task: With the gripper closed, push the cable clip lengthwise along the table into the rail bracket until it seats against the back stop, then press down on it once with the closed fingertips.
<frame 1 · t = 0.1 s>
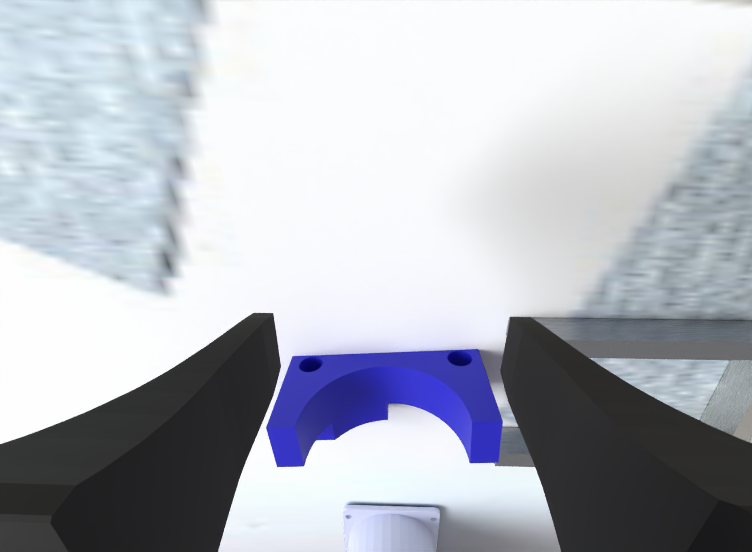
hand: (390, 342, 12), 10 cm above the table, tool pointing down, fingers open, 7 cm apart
rail bracket: (605, 385, 25), on the table
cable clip: (386, 376, 26), on the table
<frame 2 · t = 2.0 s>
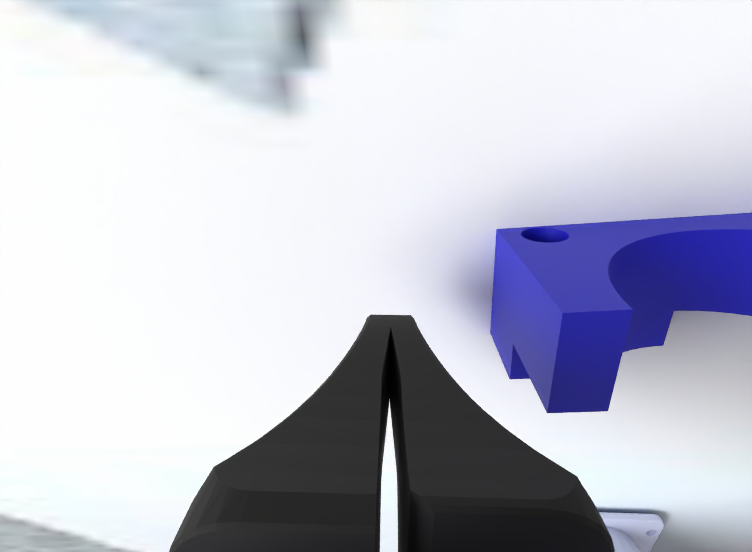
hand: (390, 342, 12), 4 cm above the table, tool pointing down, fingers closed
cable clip: (648, 271, 14), on the table
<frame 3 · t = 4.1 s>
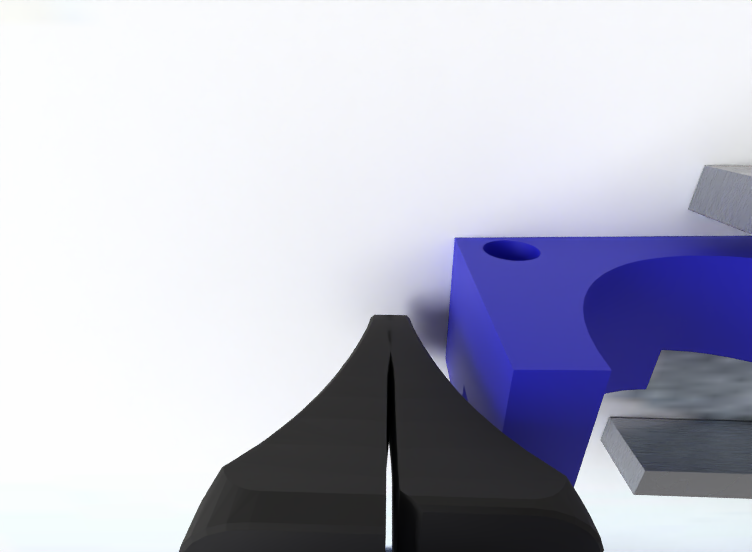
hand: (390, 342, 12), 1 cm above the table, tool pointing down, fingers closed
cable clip: (634, 299, 12), on the table, touching gripper
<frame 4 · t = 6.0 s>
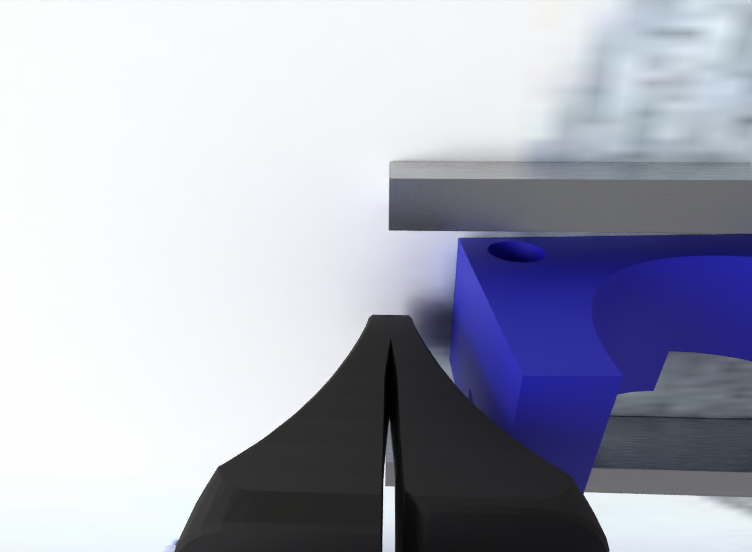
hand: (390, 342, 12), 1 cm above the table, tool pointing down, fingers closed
rail bracket: (604, 326, 12), on the table
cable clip: (640, 299, 12), resting in rail bracket, touching gripper
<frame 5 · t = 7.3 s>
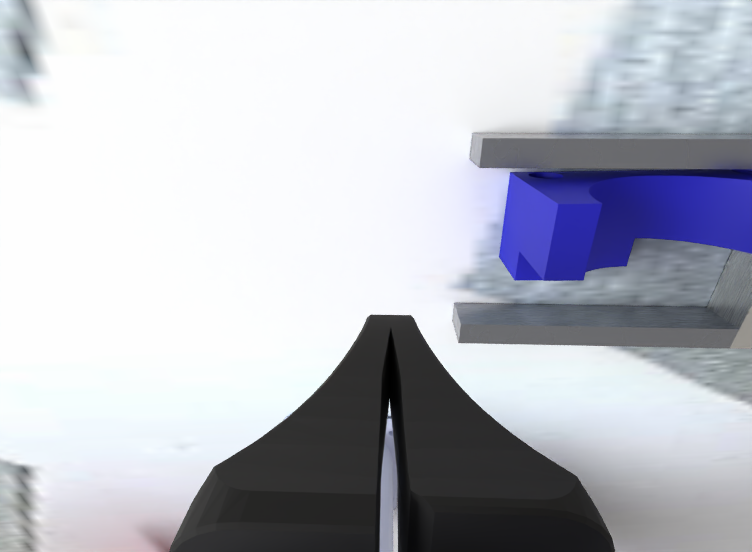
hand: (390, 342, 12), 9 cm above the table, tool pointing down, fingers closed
rail bracket: (597, 239, 20), on the table
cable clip: (619, 213, 19), resting in rail bracket
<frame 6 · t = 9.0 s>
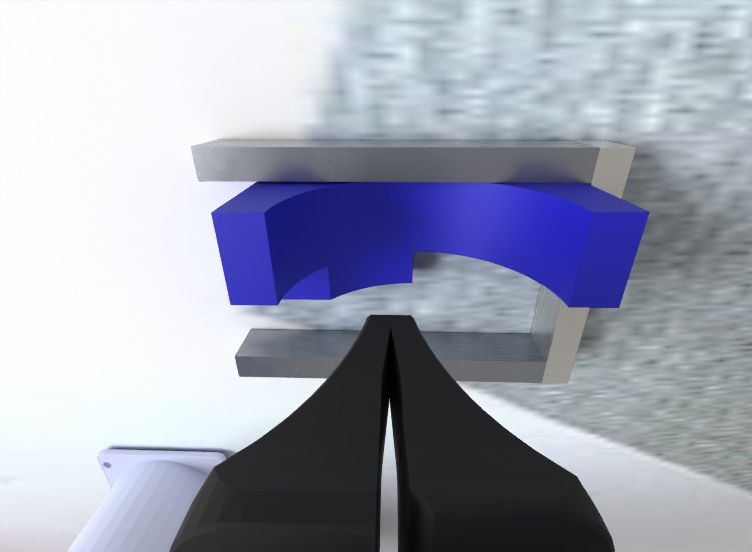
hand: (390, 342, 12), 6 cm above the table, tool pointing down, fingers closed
rail bracket: (390, 259, 17), on the table
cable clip: (411, 221, 17), resting in rail bracket
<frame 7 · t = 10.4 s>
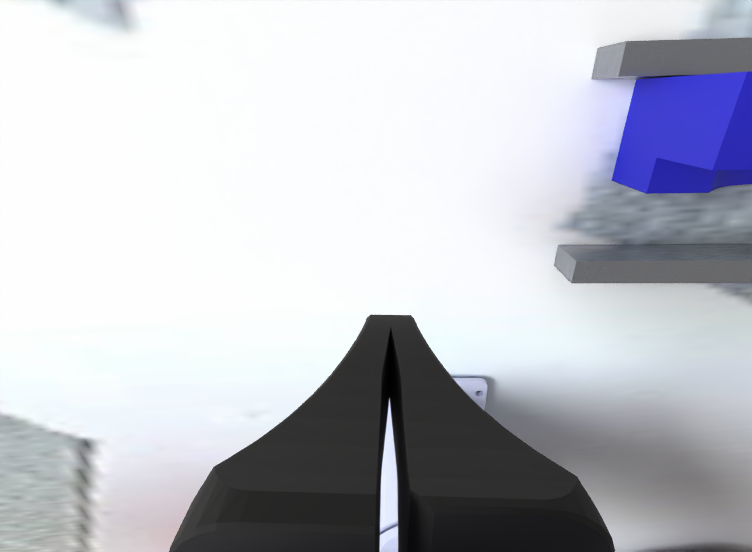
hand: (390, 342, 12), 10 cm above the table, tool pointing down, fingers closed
rail bracket: (721, 167, 18), on the table
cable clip: (747, 129, 18), resting in rail bracket
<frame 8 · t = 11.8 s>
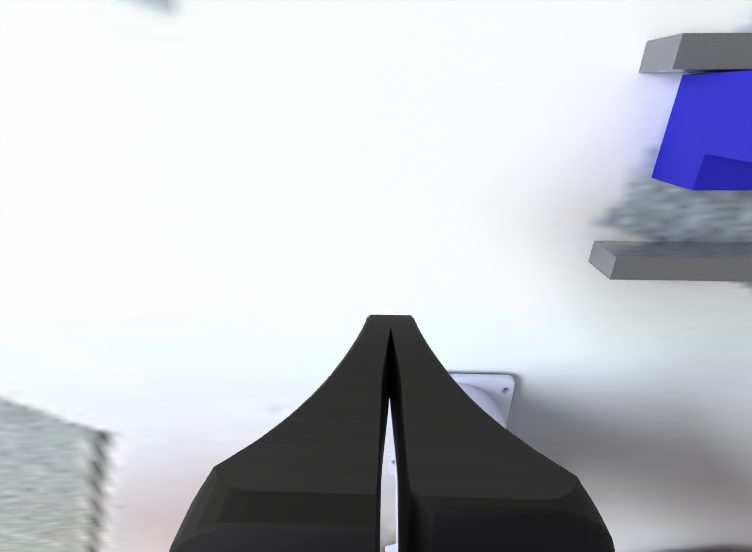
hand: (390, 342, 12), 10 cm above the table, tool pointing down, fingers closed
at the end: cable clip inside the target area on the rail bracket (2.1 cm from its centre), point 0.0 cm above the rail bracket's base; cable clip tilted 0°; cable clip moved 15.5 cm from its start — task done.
